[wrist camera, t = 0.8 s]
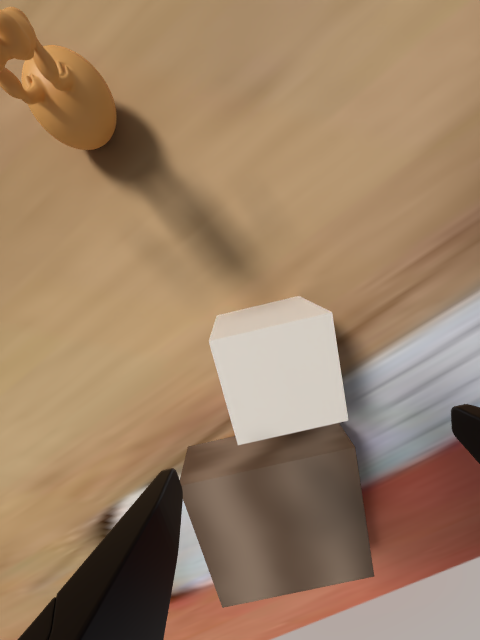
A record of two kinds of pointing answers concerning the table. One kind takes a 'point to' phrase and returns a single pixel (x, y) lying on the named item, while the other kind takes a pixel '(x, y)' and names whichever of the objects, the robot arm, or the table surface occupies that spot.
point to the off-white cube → (278, 368)
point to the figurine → (56, 85)
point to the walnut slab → (278, 513)
